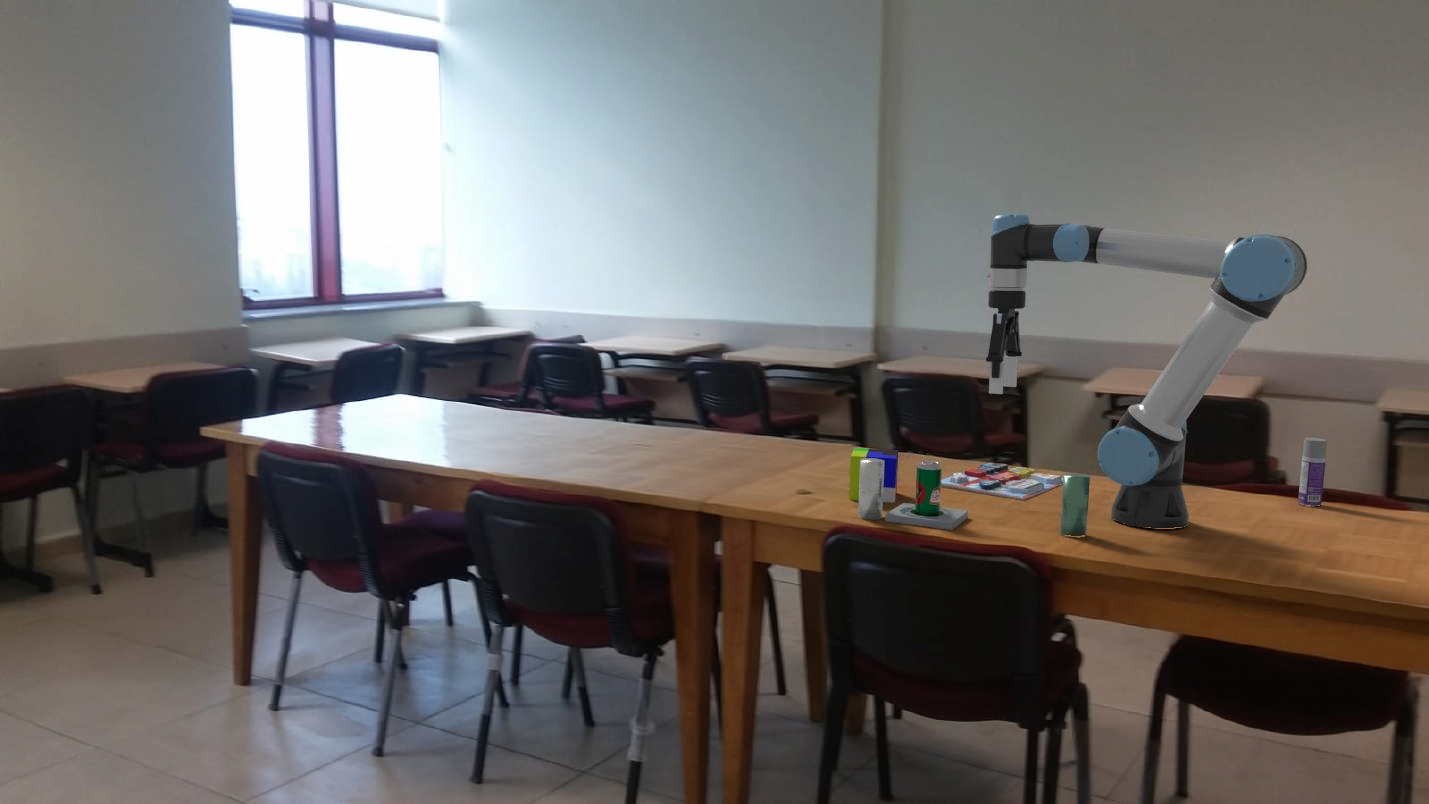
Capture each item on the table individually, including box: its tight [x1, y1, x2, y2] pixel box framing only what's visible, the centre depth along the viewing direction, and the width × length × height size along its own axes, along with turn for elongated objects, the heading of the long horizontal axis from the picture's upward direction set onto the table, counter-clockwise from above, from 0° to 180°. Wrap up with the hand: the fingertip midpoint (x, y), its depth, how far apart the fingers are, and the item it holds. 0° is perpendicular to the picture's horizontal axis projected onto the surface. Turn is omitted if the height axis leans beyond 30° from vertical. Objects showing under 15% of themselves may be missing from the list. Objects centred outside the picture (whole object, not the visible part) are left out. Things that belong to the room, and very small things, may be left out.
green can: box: [1059, 472, 1091, 536], centre depth 227 cm, size 5×5×12 cm
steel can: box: [857, 458, 884, 521], centre depth 238 cm, size 5×5×12 cm
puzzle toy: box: [848, 447, 899, 504], centre depth 258 cm, size 10×10×10 cm
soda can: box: [914, 460, 943, 517], centre depth 237 cm, size 5×5×12 cm
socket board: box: [884, 502, 969, 531], centre depth 238 cm, size 14×12×2 cm
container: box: [1297, 437, 1328, 506], centre depth 257 cm, size 5×5×15 cm
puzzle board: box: [941, 462, 1063, 501], centre depth 276 cm, size 30×23×3 cm
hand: (1002, 390), depth 242 cm, fingers open, 13 cm apart
